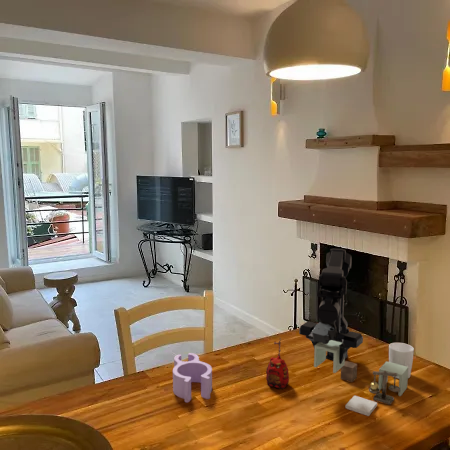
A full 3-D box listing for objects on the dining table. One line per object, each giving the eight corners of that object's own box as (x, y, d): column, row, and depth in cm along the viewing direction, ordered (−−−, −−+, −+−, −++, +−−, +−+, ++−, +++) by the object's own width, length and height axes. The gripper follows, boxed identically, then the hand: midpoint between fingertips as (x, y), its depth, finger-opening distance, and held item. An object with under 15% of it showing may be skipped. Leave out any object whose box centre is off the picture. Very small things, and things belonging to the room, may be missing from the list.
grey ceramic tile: (345, 408, 134) (345, 405, 134) (354, 398, 140) (354, 395, 139) (368, 416, 130) (368, 412, 130) (377, 405, 135) (377, 402, 135)
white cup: (408, 370, 159) (409, 342, 157) (415, 380, 151) (417, 352, 149) (385, 369, 159) (386, 342, 158) (390, 379, 152) (392, 351, 150)
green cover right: (378, 389, 145) (379, 368, 144) (385, 381, 151) (386, 361, 150) (400, 396, 141) (401, 375, 140) (407, 387, 146) (408, 366, 145)
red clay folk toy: (262, 386, 147) (263, 342, 145) (270, 377, 153) (271, 335, 151) (285, 391, 144) (285, 346, 142) (292, 382, 150) (293, 339, 148)
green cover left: (314, 366, 140) (314, 345, 139) (323, 358, 146) (324, 338, 145) (335, 373, 136) (336, 351, 135) (344, 364, 142) (345, 343, 141)
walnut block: (340, 379, 152) (341, 364, 152) (345, 374, 155) (345, 360, 155) (352, 382, 150) (352, 368, 149) (356, 377, 153) (357, 363, 152)
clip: (166, 374, 156) (166, 355, 155) (201, 370, 159) (201, 351, 158) (177, 404, 137) (177, 382, 136) (217, 398, 140) (217, 377, 139)
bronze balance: (366, 397, 140) (368, 368, 139) (370, 393, 143) (372, 364, 142) (397, 407, 135) (398, 376, 133) (400, 402, 137) (402, 372, 136)
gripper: (291, 313, 138) (290, 361, 140) (350, 326, 126) (348, 378, 129) (308, 303, 146) (306, 349, 149) (364, 315, 135) (362, 364, 137)
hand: (329, 360), depth 141 cm, fingers closed on green cover left, 7 cm apart
